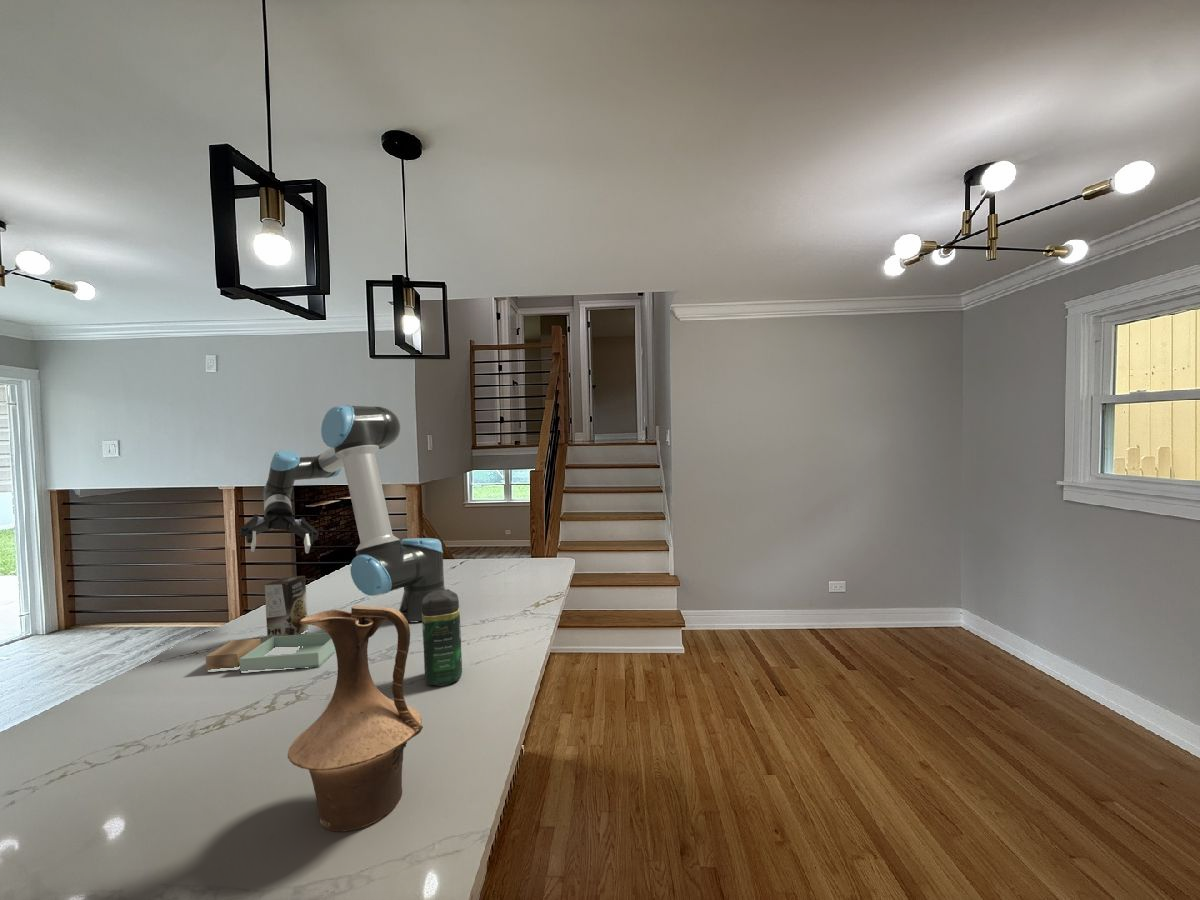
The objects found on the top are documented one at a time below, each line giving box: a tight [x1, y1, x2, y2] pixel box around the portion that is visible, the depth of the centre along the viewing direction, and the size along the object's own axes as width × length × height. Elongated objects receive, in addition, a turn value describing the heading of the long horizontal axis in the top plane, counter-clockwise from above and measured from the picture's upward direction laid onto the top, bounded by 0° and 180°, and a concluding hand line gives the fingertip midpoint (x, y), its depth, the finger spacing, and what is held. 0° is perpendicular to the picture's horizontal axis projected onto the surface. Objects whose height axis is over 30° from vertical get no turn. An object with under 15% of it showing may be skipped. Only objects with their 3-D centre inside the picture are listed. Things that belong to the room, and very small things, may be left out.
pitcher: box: [287, 605, 424, 832], centre depth 76 cm, size 18×17×28 cm
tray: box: [239, 631, 336, 672], centre depth 132 cm, size 18×15×4 cm
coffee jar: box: [421, 588, 463, 687], centre depth 117 cm, size 10×8×19 cm
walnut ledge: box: [205, 638, 262, 671], centre depth 131 cm, size 7×10×4 cm
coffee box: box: [264, 575, 309, 641], centre depth 148 cm, size 9×6×16 cm
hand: (281, 548), depth 153 cm, fingers open, 13 cm apart
